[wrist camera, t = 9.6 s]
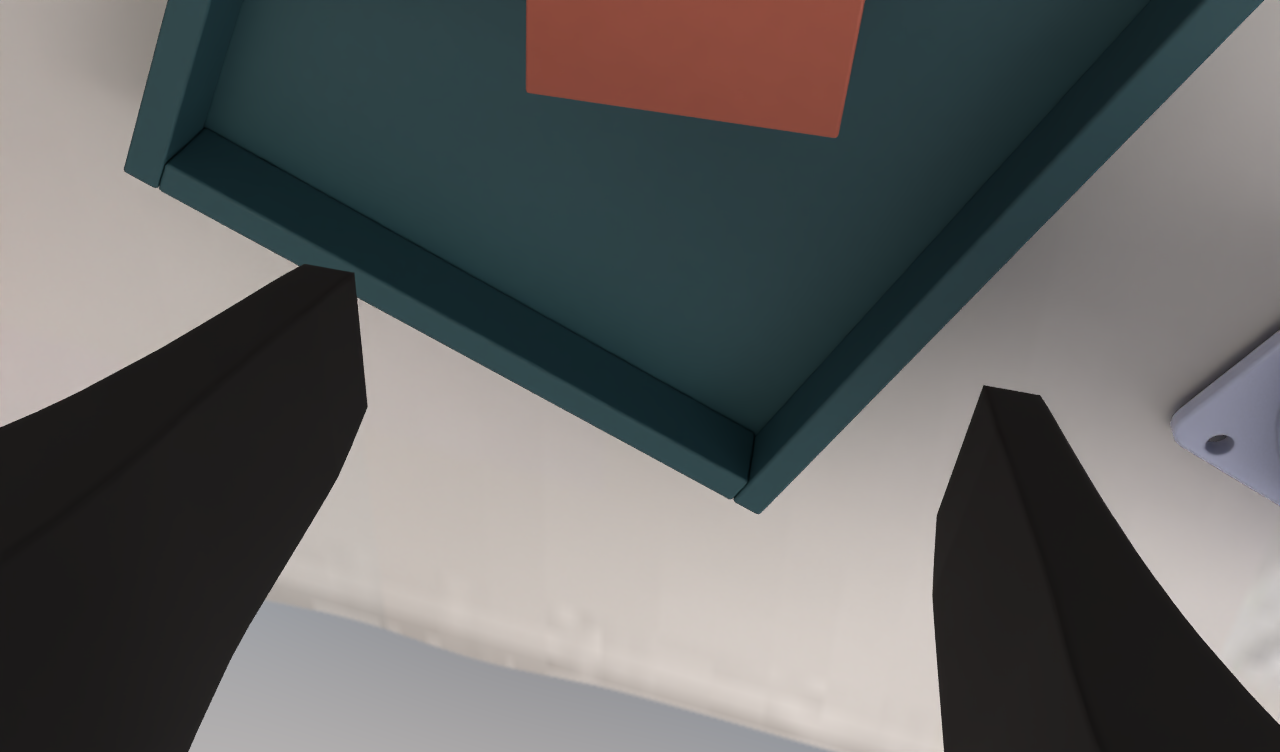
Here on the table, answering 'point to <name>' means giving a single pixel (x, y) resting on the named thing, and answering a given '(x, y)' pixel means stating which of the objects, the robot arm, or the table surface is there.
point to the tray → (658, 197)
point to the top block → (699, 57)
